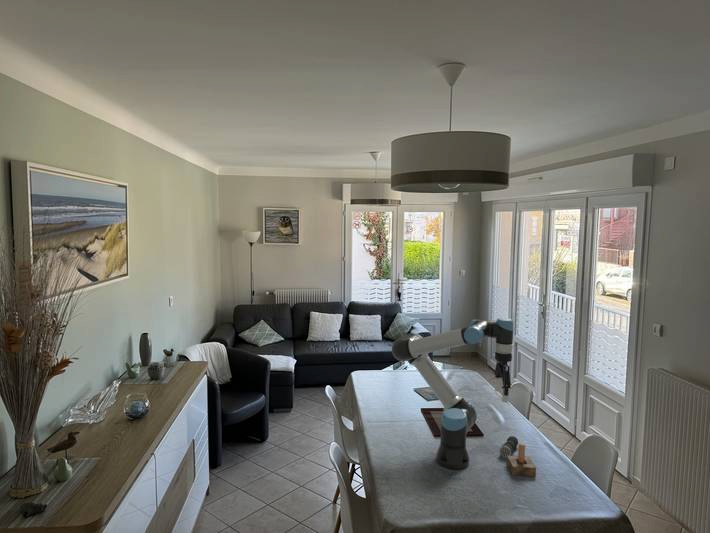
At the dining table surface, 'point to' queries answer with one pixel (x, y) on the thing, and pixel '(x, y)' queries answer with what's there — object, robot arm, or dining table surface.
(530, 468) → the socket block
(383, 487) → the dining table surface
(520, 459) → the peg
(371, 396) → the dining table surface
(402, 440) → the dining table surface
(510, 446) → the flashlight
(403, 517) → the dining table surface
